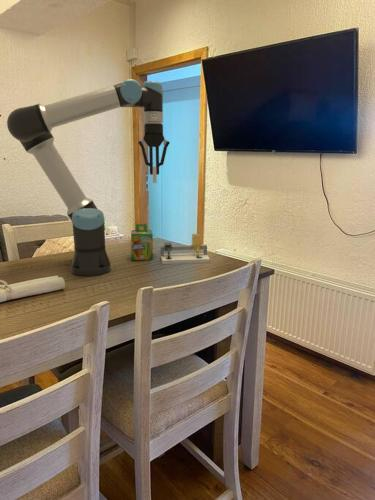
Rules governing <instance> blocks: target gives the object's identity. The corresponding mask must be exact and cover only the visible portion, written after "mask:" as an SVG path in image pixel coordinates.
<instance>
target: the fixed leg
mask: <svg viewBox="0 0 375 500" xmlns="http://www.w3.org/2000/svg"><path fill="white" fill-rule="evenodd" d="M163 246H164V247H165V251H164V252H167V254H168V259H170V254H171V252H172V251H173V250H172V246H173V245H172V242H163Z"/></svg>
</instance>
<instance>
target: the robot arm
mask: <svg viewBox="0 0 375 500" xmlns="http://www.w3.org/2000/svg"><path fill="white" fill-rule="evenodd" d="M163 95H164V94H163V84H162V83H161V82H159V81H157V80H150V81H149V80H146V81H144V82H143V85H142V86H141V84H140V82H138V81H137V80H136V79H131V78H129V79H126V80H124V81H123V82H120V83H117V84H114V85H111V86H110V85H109V86H106V87H103V88H100V89H97V90H96V89H95V90H93V91H90V92H86V93H83V94H79V95H76V96H73V97H69V98H66V99H65V98H64V99H62V100H60V101H56V102H52V103H48V104H45V105H43V104H41V103H37V104H33V105H29V106H24V107H19V108H16V109H13V111H11V112H10V114H8V117H7V119H6V120H7V121H6V125H7V129H8V132H9V134H10V135H11V136H12V137H13V138H14V139H16V140H17V141H19V142H20V143H21V146H22V147H23V149H24V150H25V152H26V153H28V154H29V155H33V156H34V158H35V160H36V161H37V163H38V164H39V165H40V167H41V169H42V171H43V173H45V176H47V178H48V179H49V182H50V183H51V184H52V186H53V187H54V189H55V191H56V193H57V195H59V197H60V198H61V200H62V202H63V203H64V205H65V206H66V208H67V211H66V215H67V216H68V218H69V220H70V221H71V223H72V233H73V234H72V235H73V246H74V253H73V258H72V260H71V261H72V262H71V265H70V272H71V273H72V274H73V275H76V276H81V277H92V276H99V275H103V274H106V273H109V272H110V271H111V270H112V263H111V260H110V259H109V255H108V253H107V249H106V232H105V231H106V229H105V219H106V218H105V215H104V212H103V211H102V210H101V209H98V208H97V205H96V203H95V202H94V201H93V199H90V198H89V197H86V195H85V193H84V192H83V190H82V188H81V186H80V185H79V183H78V182H77V181H76V179H75V177H74V175H73V174H72V172H71V170H70V169H69V168H68V167H69V166H67V164H66V162H65V161H64V160H63V157H62V156H61V154H60V153H59V151H58V150H57V147H56V146H55V144H54V143H55V137H54V136H53V134H52V130H53V129H54V128H57V127H60V126H63V125H66V124H69V123H72V122H76V121H79V120H83V119H85V118H89V117H92V116H96V115H100V114H102V113H104V112H105V113H106V112H109V111H111V110H116V109H119V108H143V122H144V126H143V128H144V130H143V131H144V136H143V139H141V140H139V141H138V145H139V146H140V148H141V149H140V150H141V153H142V157H143V160H144V164H145V165H146V166H148V167H149V174H150V175H152V183H153V184H157V183H158V182H157V178H158V177H157V175H158V176H159V175H160V167H161V166H163V165H164V163H165V157H166V155H167V150H168V147H169V145H170V141H168V140H167V139H165V136H164V124H163V123H164V111H163V109H164V108H163V107H164V106H163V103H164V101H163V100H164V98H163V97H164V96H163ZM145 144H146V145H147V146H148V149H149V150H148V152H149V153H148V154H149V156H148V157H149V160H148V157H147V153H146V149H145ZM162 144H163V150H162V154H161V157H160V149H159V148H160V146H161V145H162ZM153 148H155V166H154V164H153V163H154V161H153V159H154V158H153V155H154V154H153Z"/></svg>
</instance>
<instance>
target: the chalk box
mask: <svg viewBox="0 0 375 500" xmlns="http://www.w3.org/2000/svg"><path fill="white" fill-rule="evenodd" d="M140 227H143V229H140ZM130 232H131V236H130V244H131V246H130V248H131V261H152V260H153V257H154V256H153V255H154V253H153V248H154V247H153V241H154V240H153V239H154V236H153V235H154V234H153V231H152V230H151V229H148V225H147V223H137V224H135V229H134V230H131V231H130Z"/></svg>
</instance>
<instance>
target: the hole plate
mask: <svg viewBox="0 0 375 500" xmlns="http://www.w3.org/2000/svg"><path fill="white" fill-rule="evenodd" d="M200 250H203V252H199V257H197V252H194V253H190V252H189V253H170V259H168V253H165V252H166V251H165V247H164V245H161V246H160V261H161V264H162V265H173V264H174V265H175V264H177V265H178V264H181V265H182V264H203V263H204V264H205V263H207V264H208V263H209V262H211V258H210V257H209V255H208V245H207V244H200ZM172 251H194V250H193V245H192V244H191V245H188V244H187V245H172Z"/></svg>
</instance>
